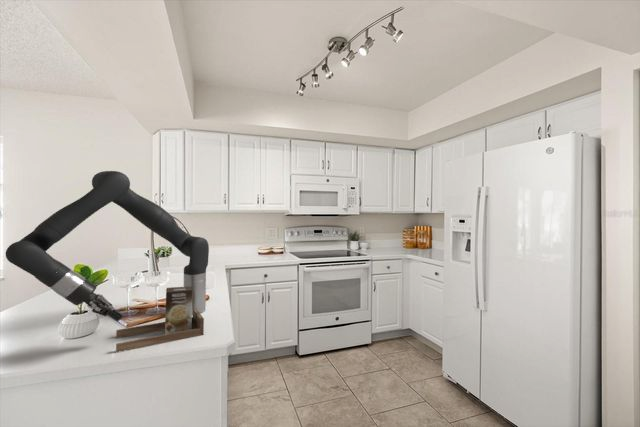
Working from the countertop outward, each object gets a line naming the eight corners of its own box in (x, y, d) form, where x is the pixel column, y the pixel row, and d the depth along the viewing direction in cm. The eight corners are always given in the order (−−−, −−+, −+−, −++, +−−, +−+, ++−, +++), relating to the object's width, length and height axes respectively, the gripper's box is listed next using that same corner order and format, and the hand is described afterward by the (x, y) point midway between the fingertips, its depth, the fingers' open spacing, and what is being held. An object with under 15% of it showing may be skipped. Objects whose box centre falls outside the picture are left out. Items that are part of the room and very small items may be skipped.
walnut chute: (116, 336, 109) (116, 320, 108) (195, 322, 123) (195, 307, 123) (116, 352, 97) (116, 334, 97) (203, 334, 112) (203, 318, 112)
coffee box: (164, 336, 110) (164, 292, 110) (165, 329, 116) (165, 287, 116) (191, 332, 114) (192, 289, 113) (191, 326, 120) (192, 285, 119)
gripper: (82, 282, 92) (130, 315, 99) (86, 273, 103) (129, 303, 110) (59, 302, 89) (110, 334, 96) (66, 291, 100) (111, 321, 108)
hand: (120, 318), depth 103 cm, fingers closed
